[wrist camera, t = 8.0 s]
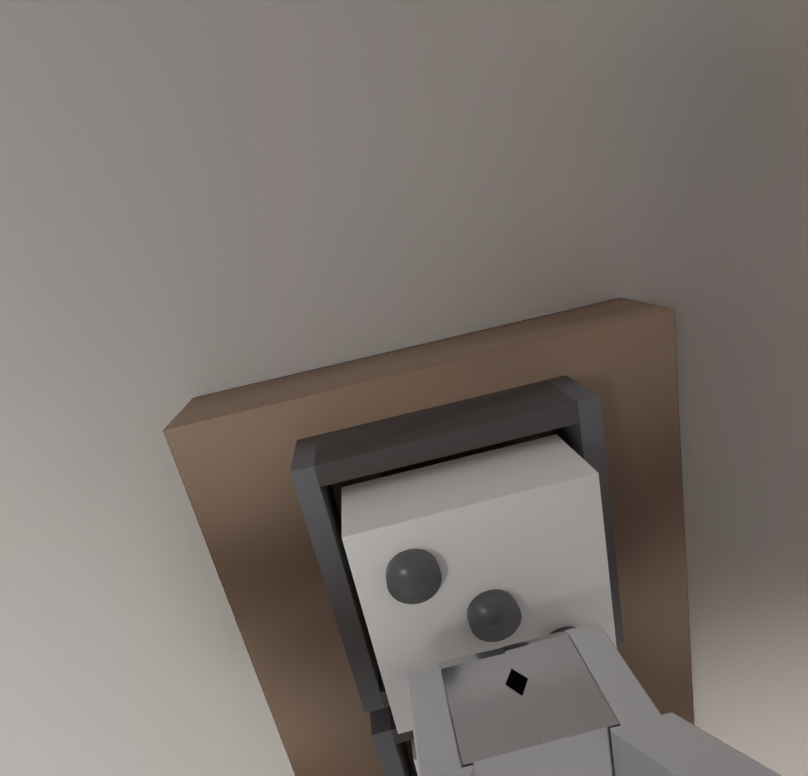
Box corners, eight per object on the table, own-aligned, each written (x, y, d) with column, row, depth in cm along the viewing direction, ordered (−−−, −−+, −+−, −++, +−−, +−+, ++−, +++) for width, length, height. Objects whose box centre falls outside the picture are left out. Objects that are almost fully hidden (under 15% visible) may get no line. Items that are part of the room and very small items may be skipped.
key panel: (192, 397, 11) (133, 462, 8) (620, 298, 12) (725, 320, 9) (380, 924, 17) (389, 1086, 14) (664, 841, 18) (737, 978, 14)
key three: (341, 487, 9) (341, 545, 7) (556, 434, 9) (605, 478, 8) (389, 660, 10) (399, 745, 9) (578, 609, 10) (625, 682, 9)
